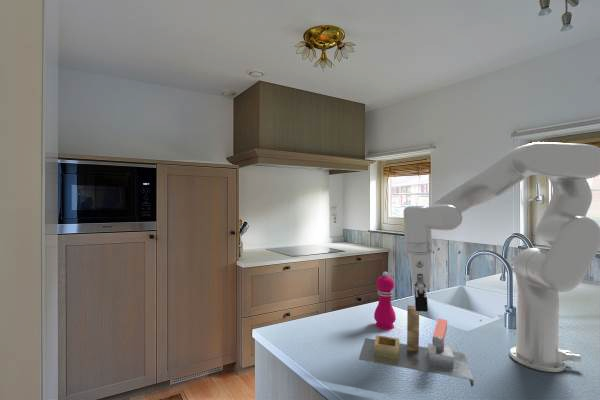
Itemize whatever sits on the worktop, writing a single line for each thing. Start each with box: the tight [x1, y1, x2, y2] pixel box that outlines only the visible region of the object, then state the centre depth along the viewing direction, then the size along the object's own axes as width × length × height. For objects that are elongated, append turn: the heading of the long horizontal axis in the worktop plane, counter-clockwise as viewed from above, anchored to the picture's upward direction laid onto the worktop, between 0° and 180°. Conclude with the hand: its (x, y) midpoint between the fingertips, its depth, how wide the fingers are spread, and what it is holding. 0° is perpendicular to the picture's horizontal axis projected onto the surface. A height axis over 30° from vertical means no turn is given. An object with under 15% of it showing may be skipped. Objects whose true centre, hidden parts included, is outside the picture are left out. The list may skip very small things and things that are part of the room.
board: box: [358, 337, 475, 385], centre depth 89 cm, size 28×14×4 cm, turn 71°
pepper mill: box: [373, 271, 397, 331], centre depth 110 cm, size 7×7×20 cm
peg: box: [406, 305, 420, 352], centre depth 94 cm, size 3×3×12 cm
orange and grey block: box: [431, 318, 448, 352], centre depth 86 cm, size 15×3×6 cm, turn 151°
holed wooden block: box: [374, 334, 400, 360], centre depth 91 cm, size 7×7×3 cm
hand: (420, 305), depth 94 cm, fingers open, 9 cm apart
